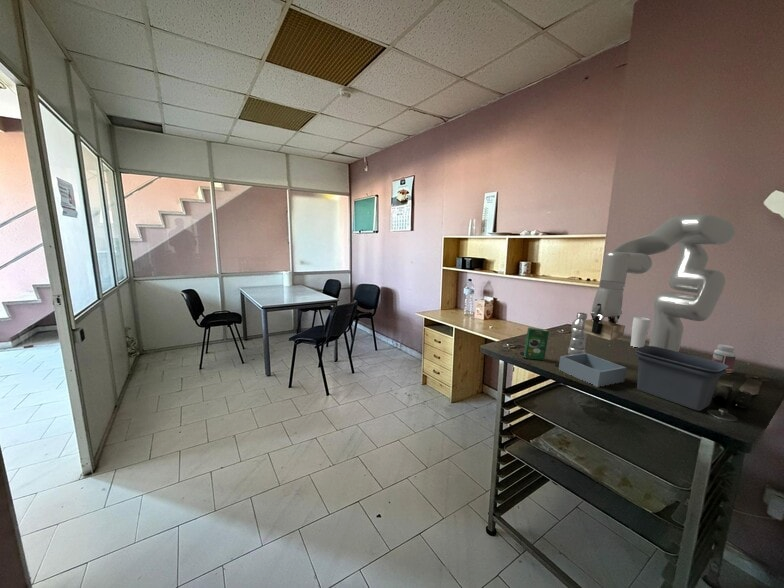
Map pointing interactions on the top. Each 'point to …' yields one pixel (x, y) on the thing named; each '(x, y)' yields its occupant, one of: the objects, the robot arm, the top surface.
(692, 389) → the storage bin
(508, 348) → the top surface
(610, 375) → the grey crate
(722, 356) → the pill bottle
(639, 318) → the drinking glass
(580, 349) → the plastic bottle
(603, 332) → the wooden crate
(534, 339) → the coffee box
